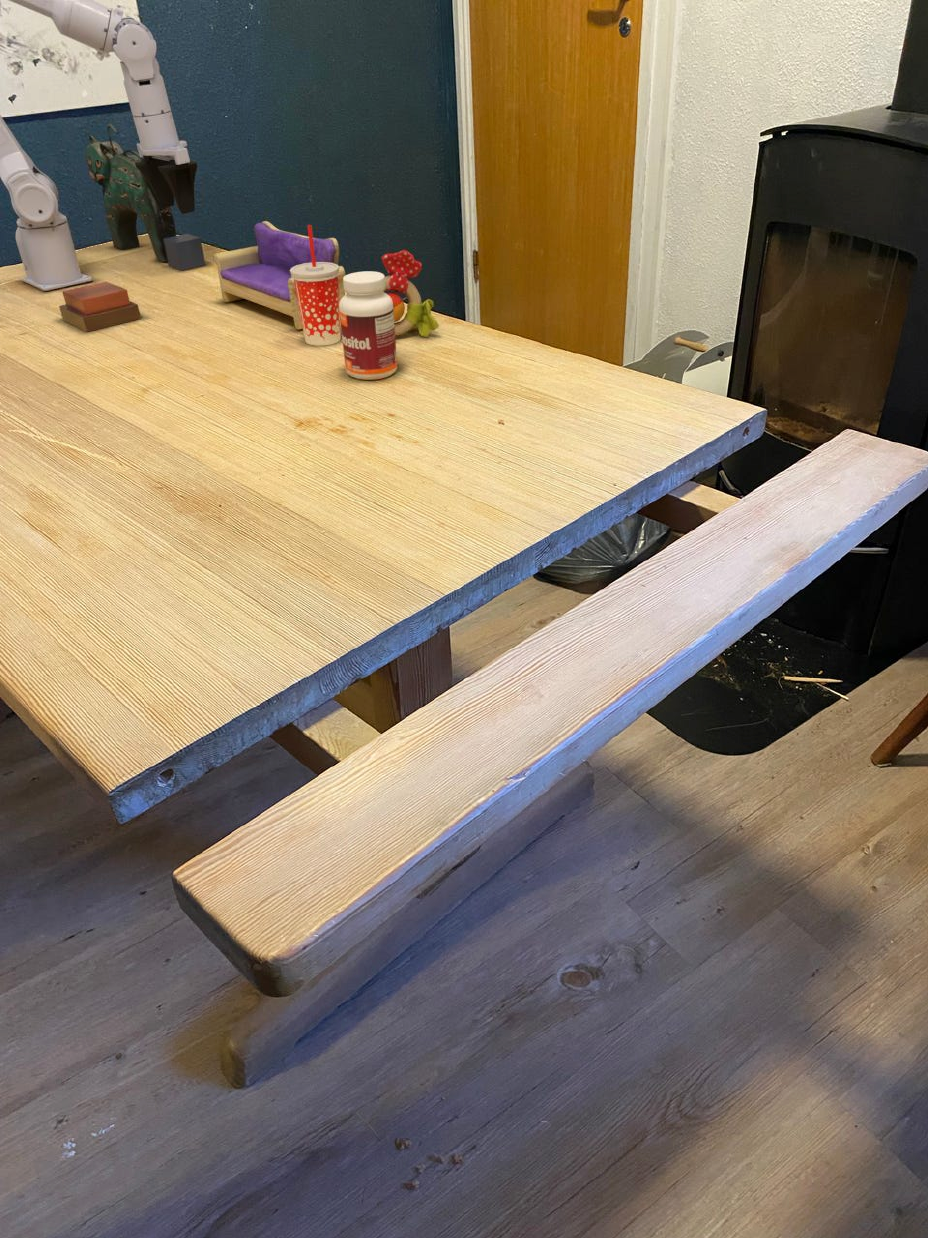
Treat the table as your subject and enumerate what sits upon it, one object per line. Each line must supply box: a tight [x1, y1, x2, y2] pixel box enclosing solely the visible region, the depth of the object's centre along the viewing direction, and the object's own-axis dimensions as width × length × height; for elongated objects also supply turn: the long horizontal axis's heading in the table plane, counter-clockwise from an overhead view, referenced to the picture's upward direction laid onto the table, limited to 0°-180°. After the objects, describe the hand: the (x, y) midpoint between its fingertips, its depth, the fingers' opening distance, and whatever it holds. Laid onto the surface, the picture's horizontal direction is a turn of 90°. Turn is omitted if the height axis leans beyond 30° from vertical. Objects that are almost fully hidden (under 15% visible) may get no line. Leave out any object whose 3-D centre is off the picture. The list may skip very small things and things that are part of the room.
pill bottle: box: [339, 270, 398, 381], centre depth 104 cm, size 6×6×11 cm
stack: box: [58, 281, 142, 333], centre depth 127 cm, size 8×8×4 cm
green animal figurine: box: [85, 123, 177, 264], centre depth 153 cm, size 20×6×20 cm, turn 44°
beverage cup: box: [290, 224, 342, 347], centre depth 114 cm, size 6×6×14 cm
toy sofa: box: [213, 220, 346, 330], centre depth 126 cm, size 21×9×10 cm, turn 42°
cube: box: [164, 233, 206, 272], centre depth 149 cm, size 4×4×4 cm
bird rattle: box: [381, 249, 439, 338], centre depth 115 cm, size 6×11×9 cm
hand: (177, 209), depth 145 cm, fingers open, 7 cm apart
